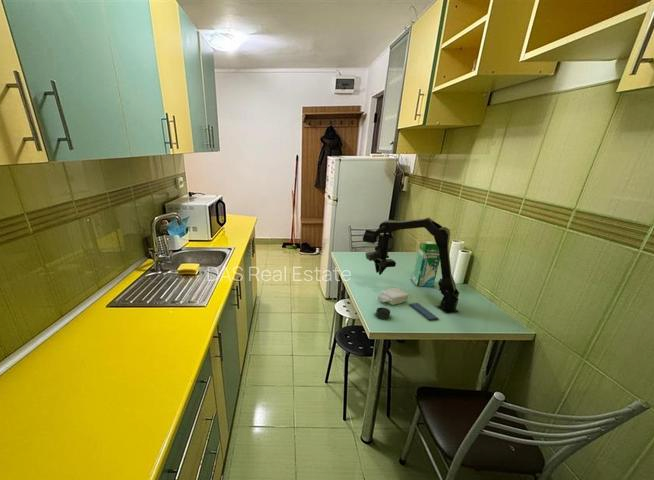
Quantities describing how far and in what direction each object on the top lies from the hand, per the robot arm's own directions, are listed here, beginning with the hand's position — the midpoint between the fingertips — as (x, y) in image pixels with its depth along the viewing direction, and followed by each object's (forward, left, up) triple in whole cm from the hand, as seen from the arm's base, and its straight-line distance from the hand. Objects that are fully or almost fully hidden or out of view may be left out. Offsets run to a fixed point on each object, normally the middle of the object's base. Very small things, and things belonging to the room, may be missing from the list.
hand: (378, 273), depth 161 cm
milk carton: (-32, -4, -10) cm, 34 cm away
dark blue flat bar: (-11, +26, -10) cm, 30 cm away
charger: (0, +13, -10) cm, 17 cm away
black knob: (+11, +26, -10) cm, 30 cm away
